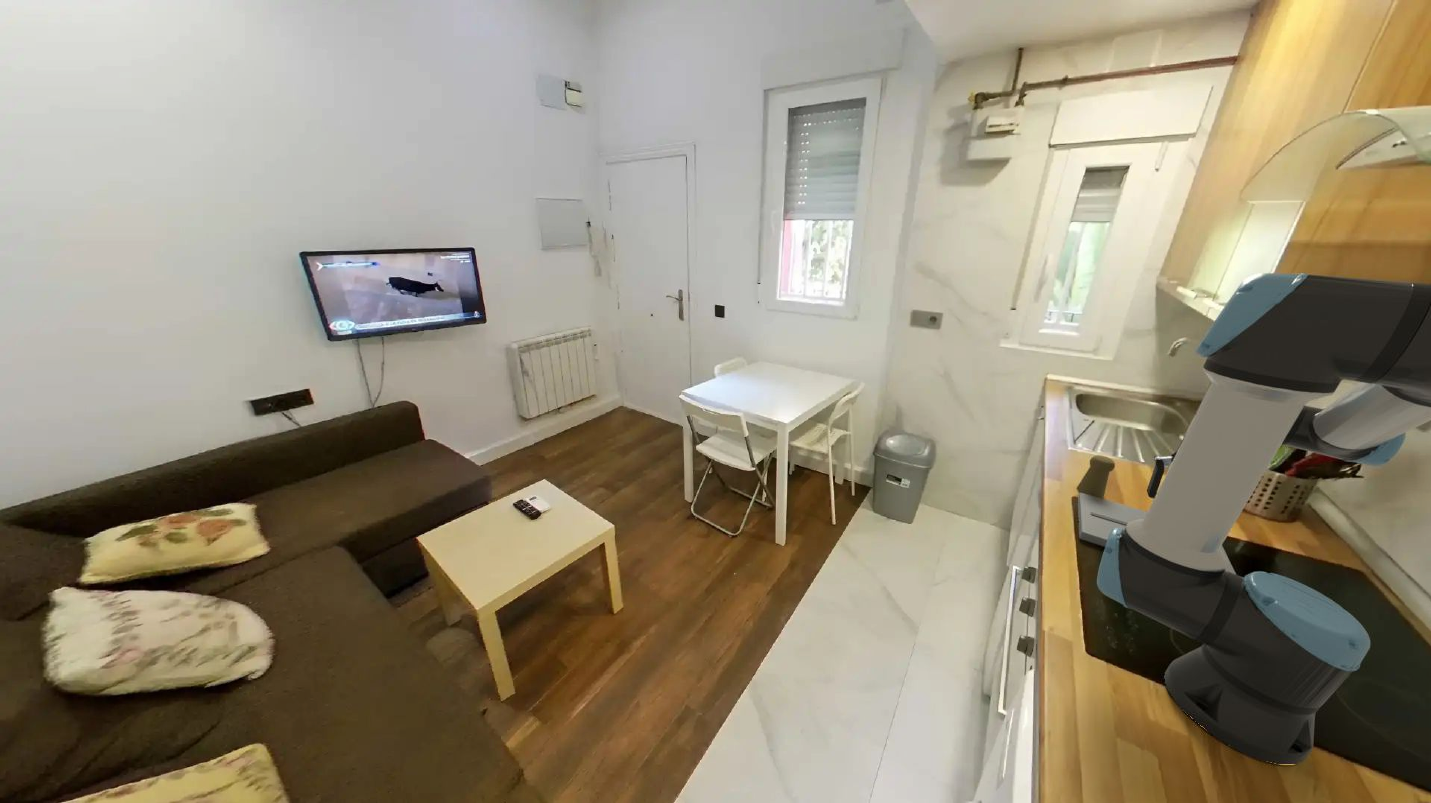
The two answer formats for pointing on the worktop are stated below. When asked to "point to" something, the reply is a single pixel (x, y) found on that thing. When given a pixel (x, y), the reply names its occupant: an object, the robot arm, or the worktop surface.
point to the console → (1109, 520)
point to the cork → (1096, 476)
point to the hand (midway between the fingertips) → (1163, 527)
